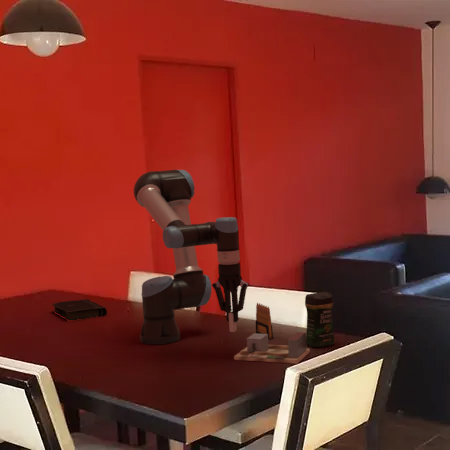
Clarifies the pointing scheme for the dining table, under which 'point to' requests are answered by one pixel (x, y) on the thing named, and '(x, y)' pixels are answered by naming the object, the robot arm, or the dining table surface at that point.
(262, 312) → the ammunition clip
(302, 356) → the board
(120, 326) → the dining table surface
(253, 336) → the grey rectangular block
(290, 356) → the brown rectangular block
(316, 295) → the coffee jar
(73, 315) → the diary
